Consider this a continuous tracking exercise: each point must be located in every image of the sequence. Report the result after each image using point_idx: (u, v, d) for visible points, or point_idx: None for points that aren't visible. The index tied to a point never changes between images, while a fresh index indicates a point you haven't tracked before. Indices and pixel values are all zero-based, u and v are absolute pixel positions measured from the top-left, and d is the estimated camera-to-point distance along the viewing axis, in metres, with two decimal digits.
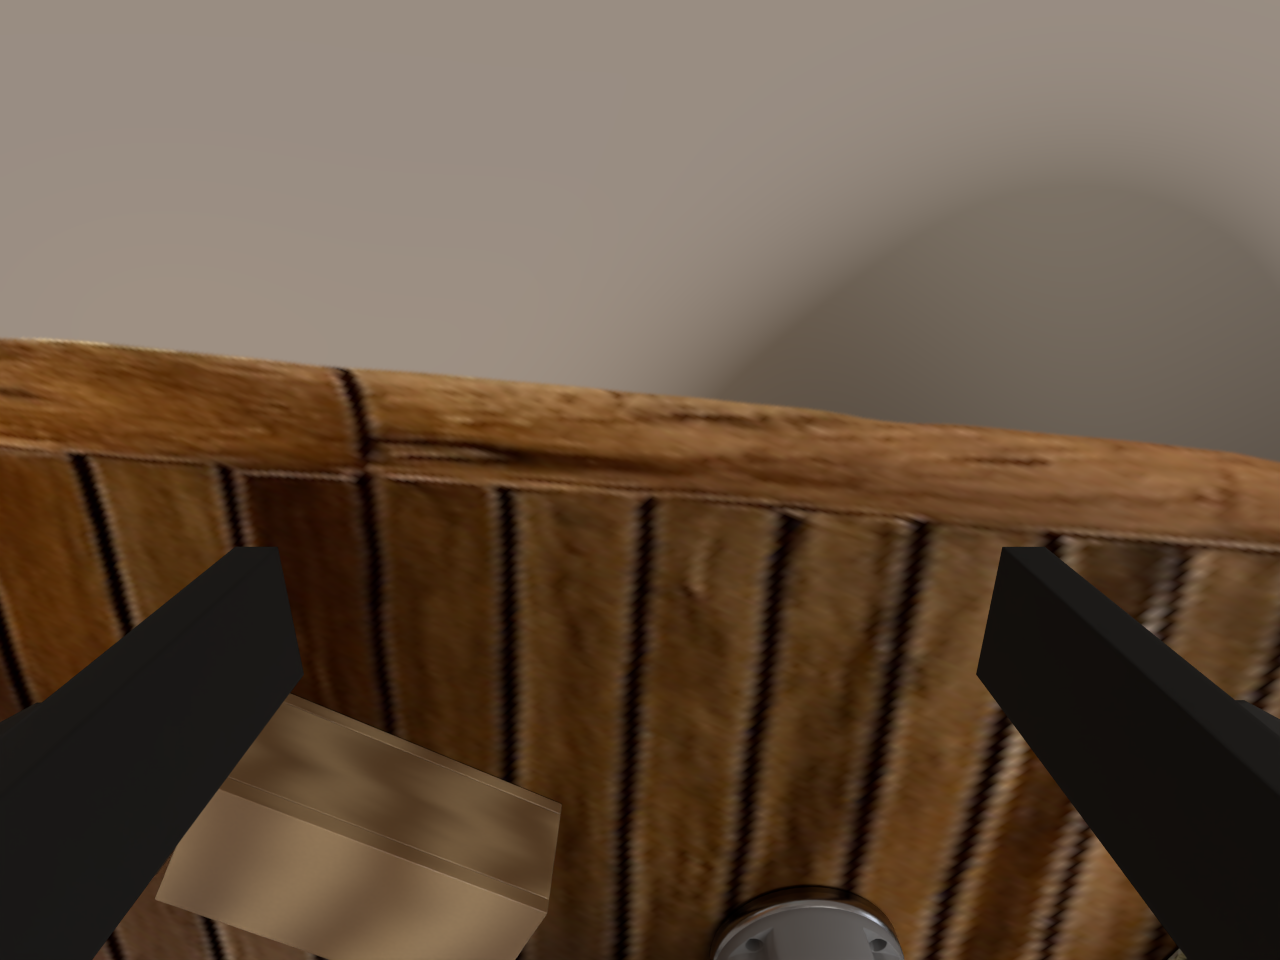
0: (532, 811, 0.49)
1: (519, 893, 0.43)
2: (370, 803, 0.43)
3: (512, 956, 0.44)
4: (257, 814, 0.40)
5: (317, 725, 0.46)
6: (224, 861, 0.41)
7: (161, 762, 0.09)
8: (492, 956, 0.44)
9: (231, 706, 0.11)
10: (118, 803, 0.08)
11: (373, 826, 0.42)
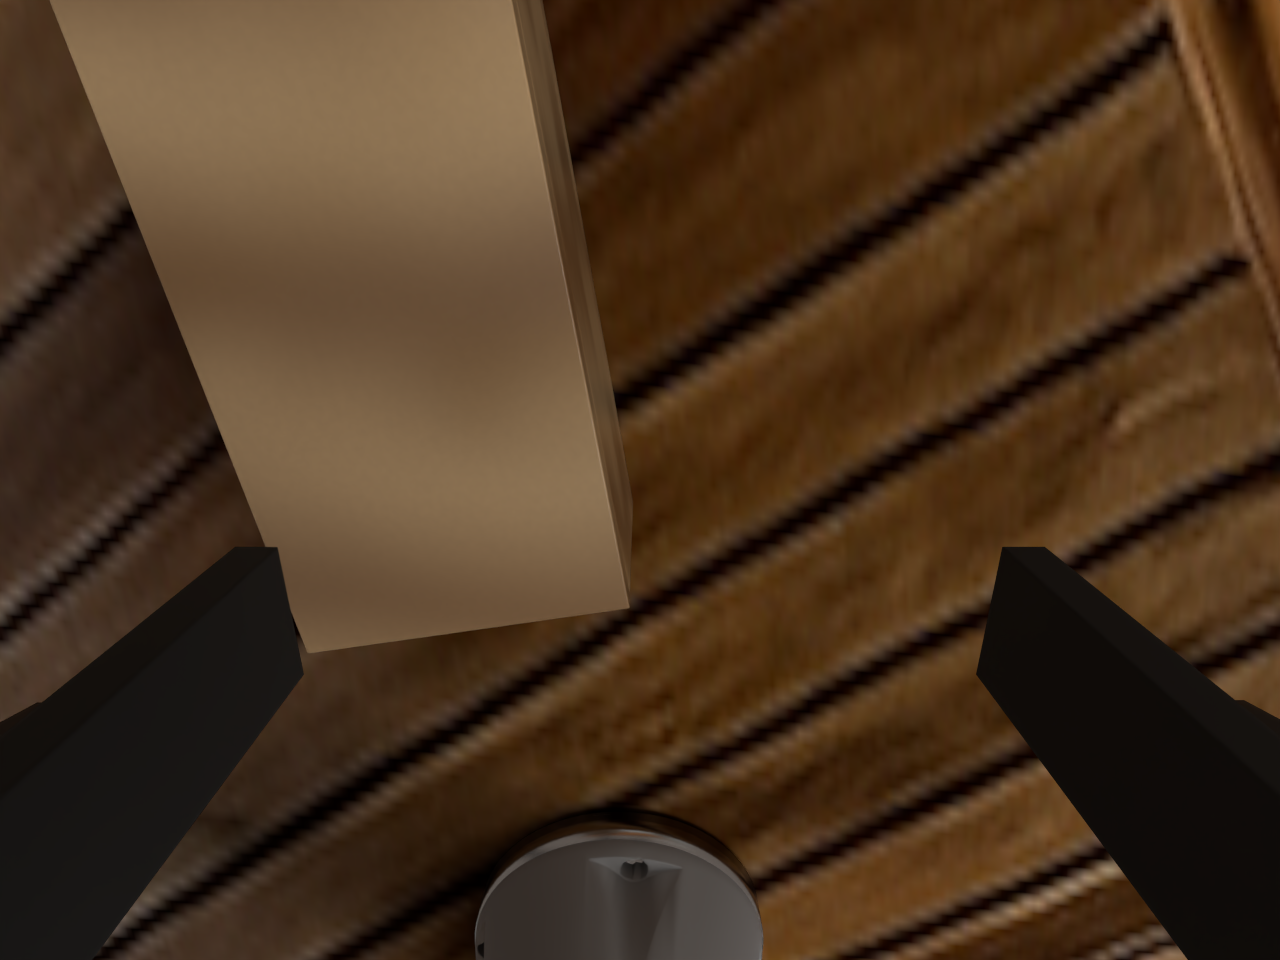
0: (623, 469, 0.27)
1: (619, 542, 0.21)
2: (557, 174, 0.19)
3: (483, 621, 0.22)
4: None
5: None
6: None
7: (161, 762, 0.09)
8: (457, 592, 0.21)
9: (231, 706, 0.11)
10: (118, 803, 0.08)
11: (556, 200, 0.18)
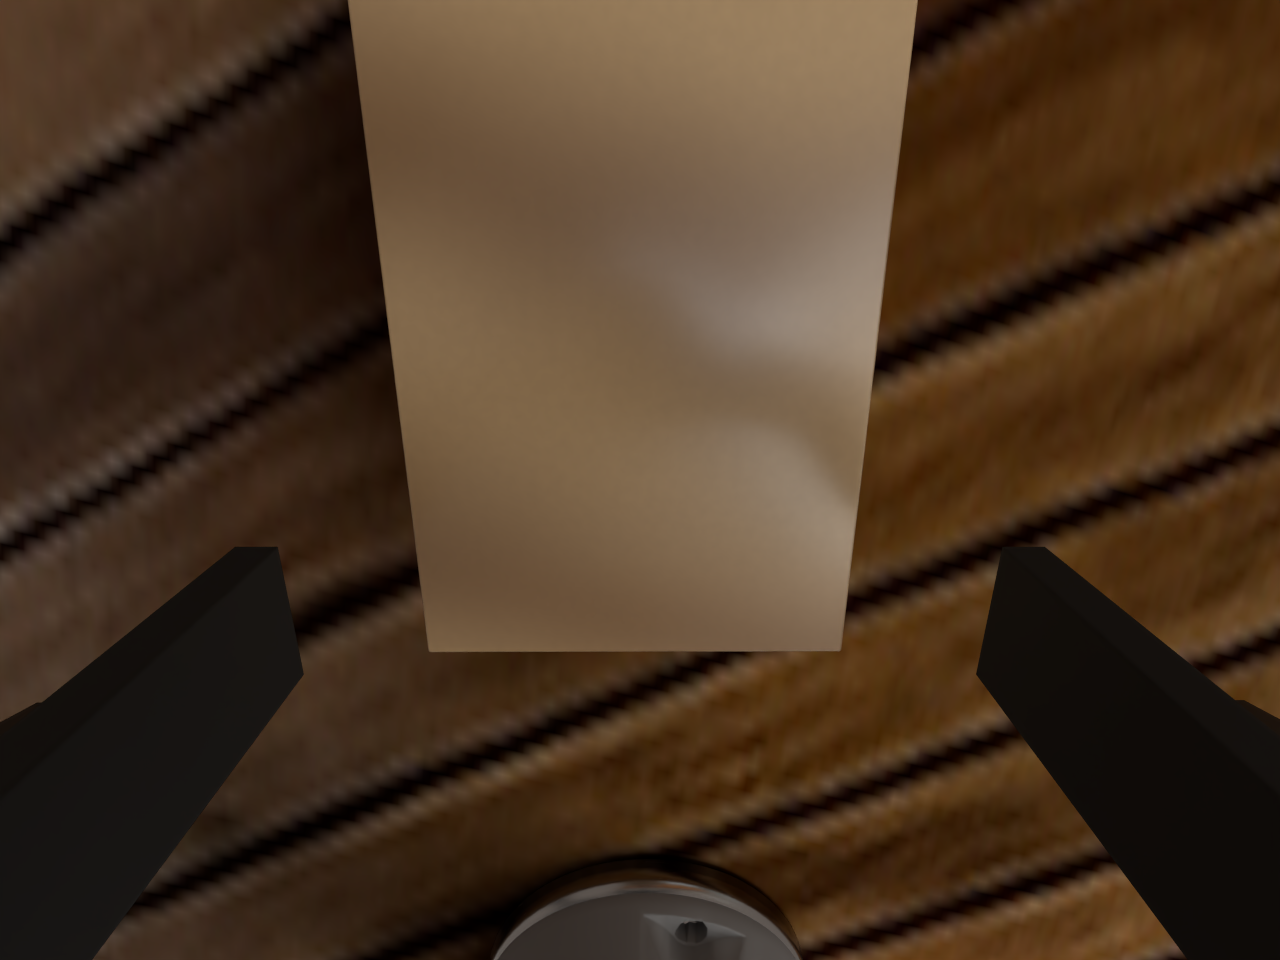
0: None
1: None
2: None
3: (660, 642, 0.17)
4: None
5: None
6: None
7: (161, 763, 0.09)
8: (639, 603, 0.17)
9: (231, 706, 0.11)
10: (118, 803, 0.08)
11: None
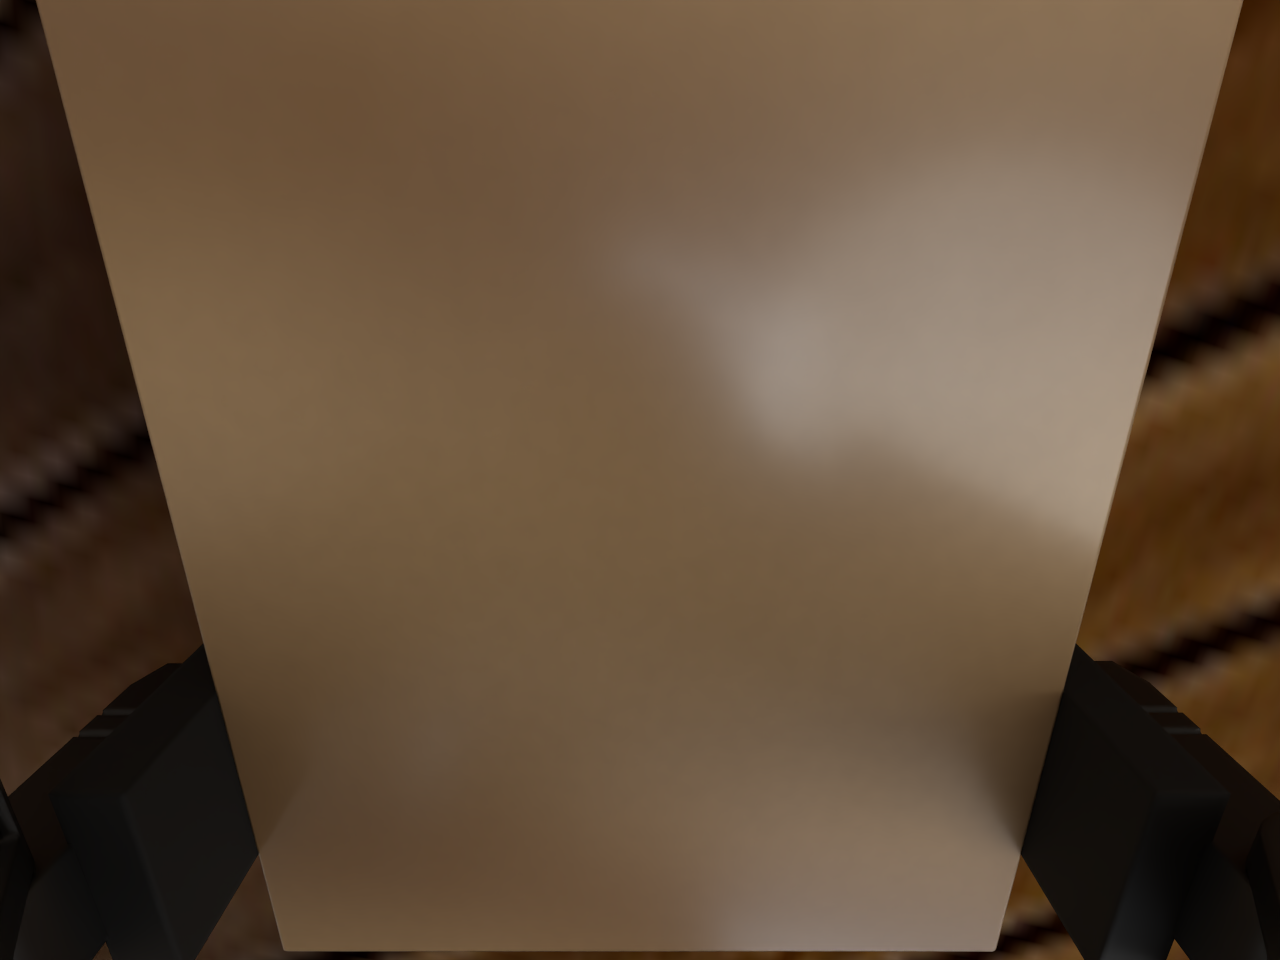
0: None
1: None
2: None
3: (684, 938, 0.10)
4: None
5: None
6: None
7: None
8: (646, 883, 0.10)
9: None
10: None
11: None
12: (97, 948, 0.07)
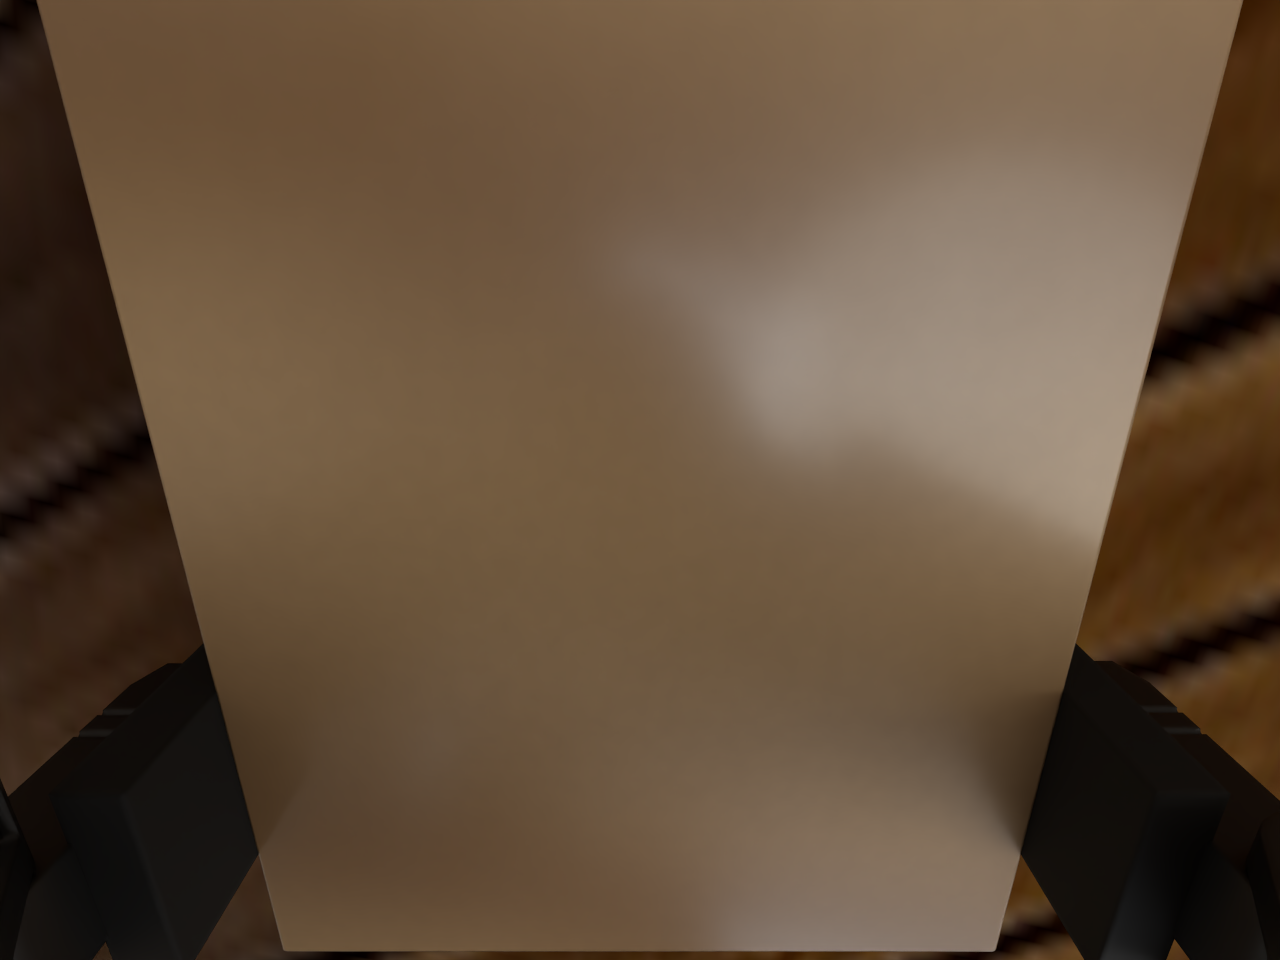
0: None
1: None
2: None
3: (684, 938, 0.10)
4: None
5: None
6: None
7: None
8: (646, 883, 0.10)
9: None
10: None
11: None
12: (97, 948, 0.07)
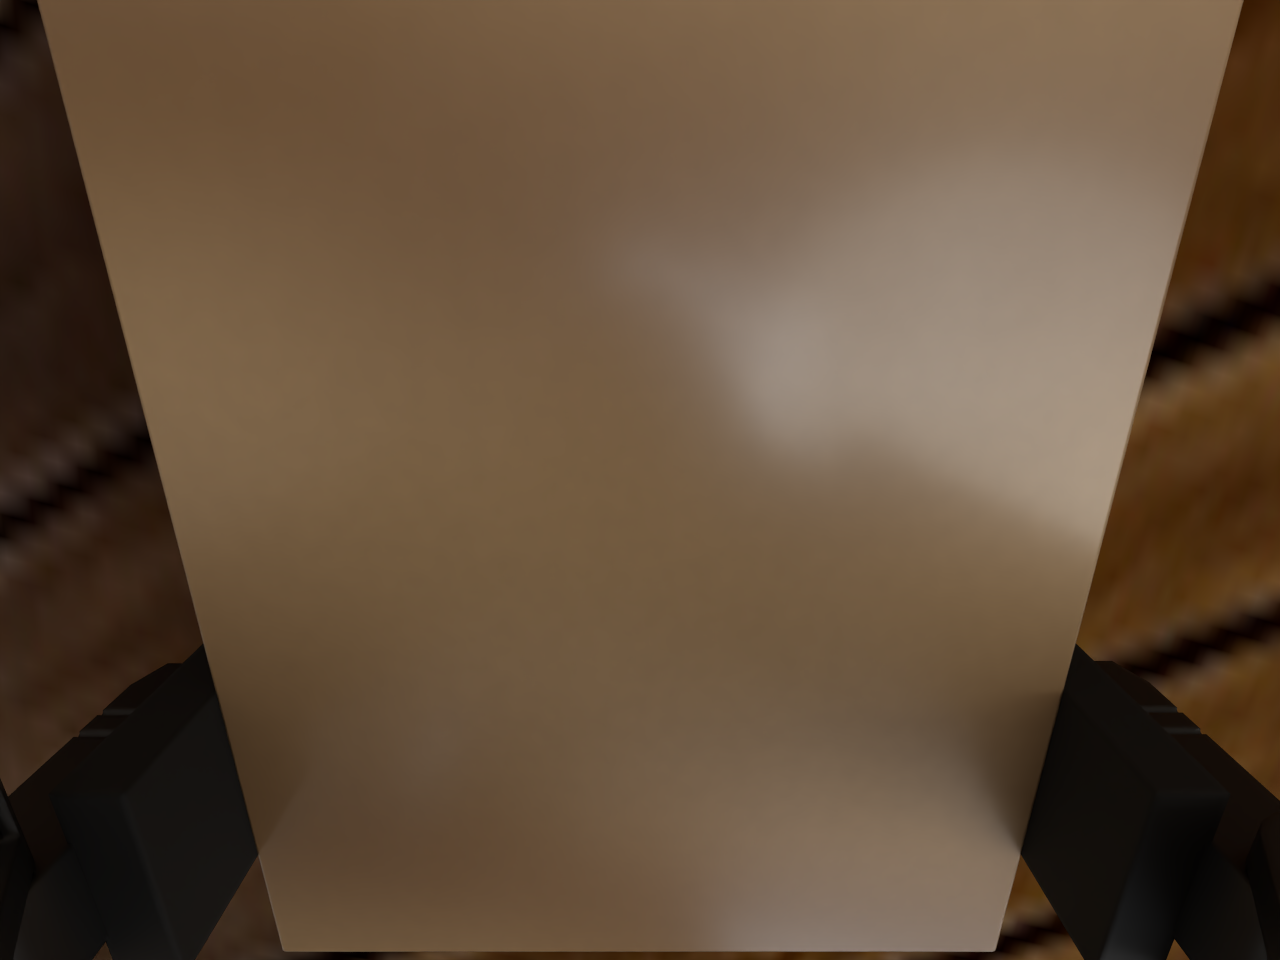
0: None
1: None
2: None
3: (684, 939, 0.10)
4: None
5: None
6: None
7: None
8: (646, 883, 0.10)
9: None
10: None
11: None
12: (96, 948, 0.07)
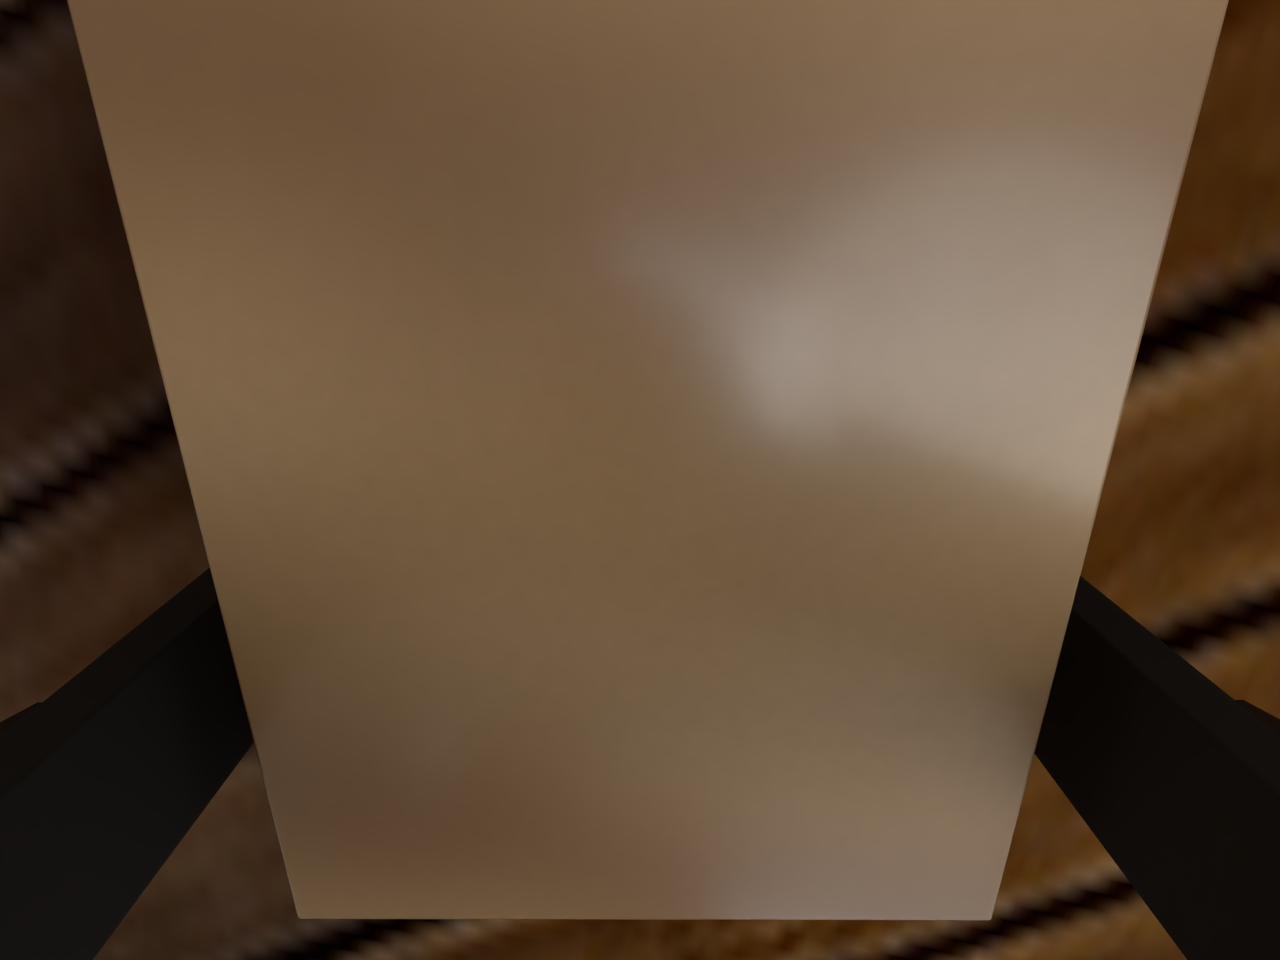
0: None
1: None
2: None
3: (687, 907, 0.10)
4: None
5: None
6: None
7: (162, 762, 0.09)
8: (651, 852, 0.10)
9: (232, 706, 0.11)
10: (119, 803, 0.08)
11: None
12: None
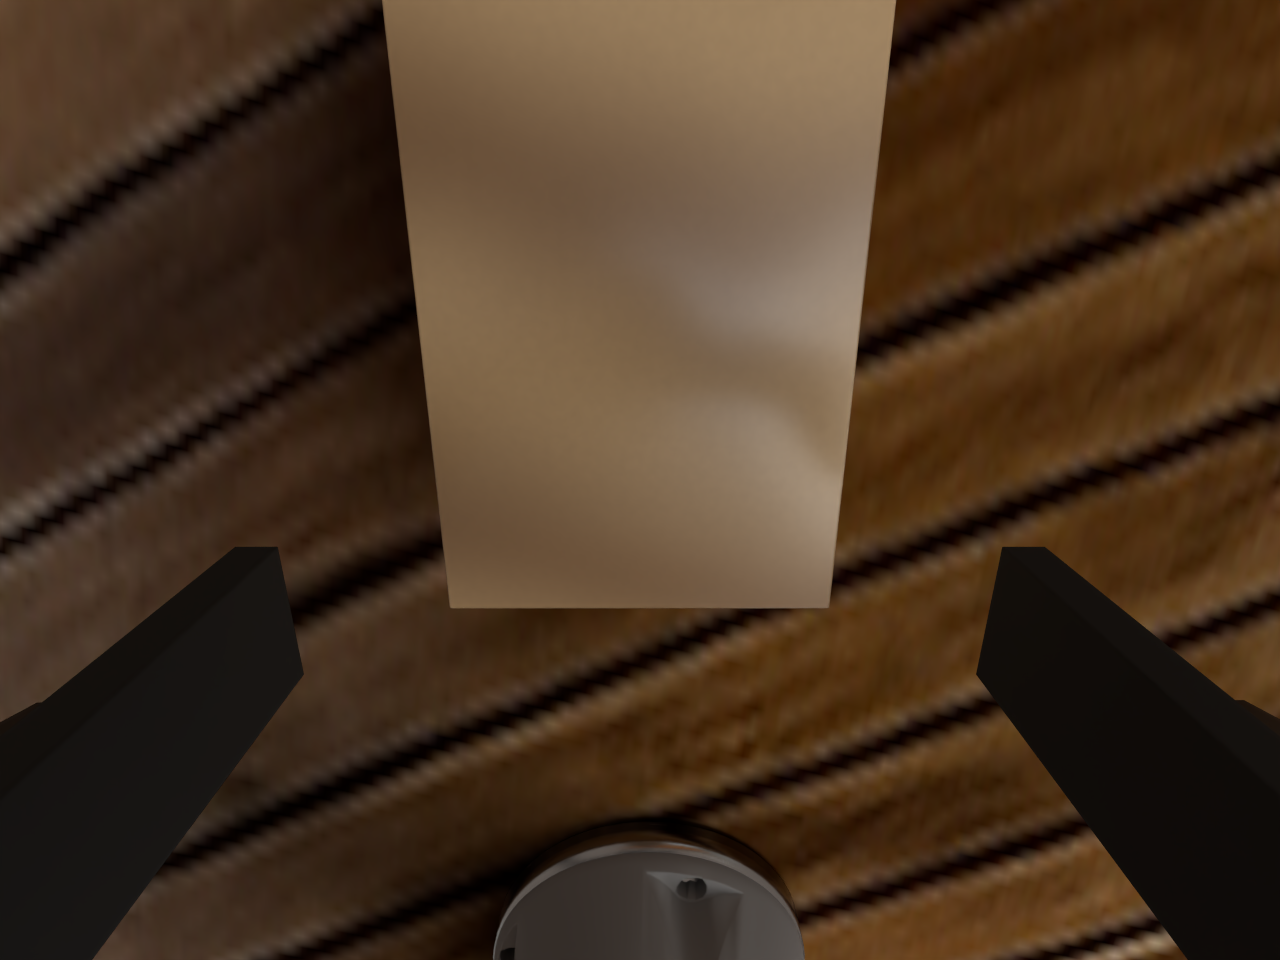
0: None
1: None
2: None
3: (663, 599, 0.19)
4: None
5: None
6: None
7: (161, 762, 0.09)
8: (643, 562, 0.18)
9: (231, 706, 0.11)
10: (118, 803, 0.08)
11: None
12: None
